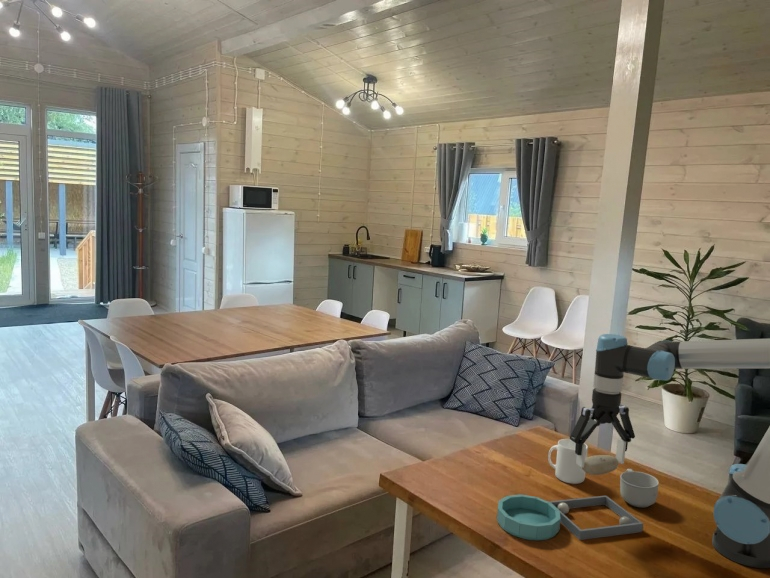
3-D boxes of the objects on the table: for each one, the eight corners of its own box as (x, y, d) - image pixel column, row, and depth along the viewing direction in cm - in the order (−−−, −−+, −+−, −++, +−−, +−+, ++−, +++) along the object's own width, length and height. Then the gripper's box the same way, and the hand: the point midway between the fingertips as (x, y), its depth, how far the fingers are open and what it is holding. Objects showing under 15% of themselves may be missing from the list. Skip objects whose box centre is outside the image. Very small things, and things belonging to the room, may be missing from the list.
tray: (642, 531, 163) (643, 523, 163) (579, 540, 158) (580, 531, 157) (605, 503, 179) (606, 495, 178) (546, 509, 173) (547, 501, 173)
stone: (626, 464, 166) (601, 460, 159) (613, 481, 167) (588, 478, 161) (611, 450, 170) (586, 446, 164) (599, 467, 172) (574, 464, 165)
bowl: (570, 537, 159) (572, 522, 158) (515, 544, 154) (516, 528, 153) (538, 506, 175) (539, 492, 174) (486, 511, 170) (487, 497, 169)
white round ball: (570, 515, 170) (571, 505, 170) (561, 516, 169) (562, 506, 169) (564, 510, 173) (565, 500, 173) (554, 511, 172) (555, 501, 172)
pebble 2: (633, 530, 164) (634, 519, 164) (623, 531, 163) (624, 520, 163) (625, 524, 167) (626, 513, 167) (616, 525, 166) (617, 514, 166)
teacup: (659, 514, 174) (663, 488, 173) (621, 508, 176) (624, 483, 175) (648, 492, 187) (651, 468, 186) (613, 487, 190) (615, 464, 188)
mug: (586, 486, 189) (589, 452, 188) (547, 480, 192) (550, 446, 190) (583, 473, 198) (586, 441, 197) (546, 468, 201) (549, 436, 199)
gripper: (635, 384, 170) (627, 455, 173) (560, 387, 163) (554, 461, 166) (653, 392, 163) (645, 465, 166) (576, 396, 156) (569, 473, 159)
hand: (600, 463), depth 166 cm, fingers closed on stone, 12 cm apart
